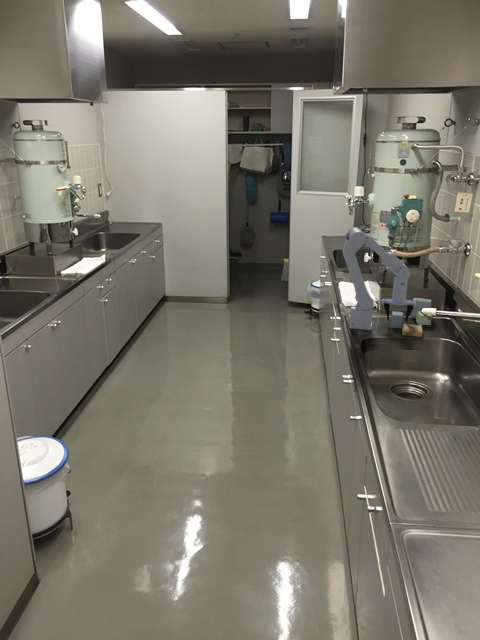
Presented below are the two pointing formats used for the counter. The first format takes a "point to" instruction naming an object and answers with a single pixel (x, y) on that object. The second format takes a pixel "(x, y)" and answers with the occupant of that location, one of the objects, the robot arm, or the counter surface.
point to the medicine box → (420, 306)
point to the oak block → (412, 330)
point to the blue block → (396, 319)
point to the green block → (422, 319)
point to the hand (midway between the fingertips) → (397, 320)
